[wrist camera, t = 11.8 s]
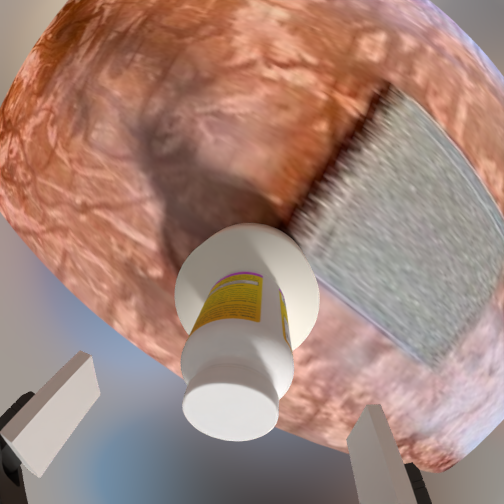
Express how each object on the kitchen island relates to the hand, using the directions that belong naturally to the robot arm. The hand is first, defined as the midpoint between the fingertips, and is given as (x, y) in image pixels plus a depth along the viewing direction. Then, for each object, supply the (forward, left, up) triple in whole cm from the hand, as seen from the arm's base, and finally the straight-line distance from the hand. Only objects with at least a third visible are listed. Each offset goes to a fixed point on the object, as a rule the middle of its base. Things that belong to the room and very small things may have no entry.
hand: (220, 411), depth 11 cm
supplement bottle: (0, 0, -13) cm, 13 cm away
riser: (0, 0, -19) cm, 19 cm away
